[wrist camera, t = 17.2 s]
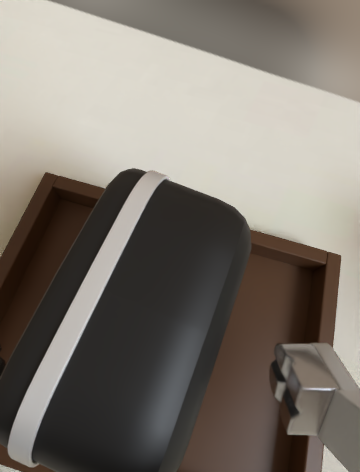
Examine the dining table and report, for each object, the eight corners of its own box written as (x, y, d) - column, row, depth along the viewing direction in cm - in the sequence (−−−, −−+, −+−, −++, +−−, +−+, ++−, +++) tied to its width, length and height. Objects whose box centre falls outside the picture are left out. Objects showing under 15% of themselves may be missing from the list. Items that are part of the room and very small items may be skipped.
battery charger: (164, 416, 15) (167, 601, 4) (94, 385, 15) (-74, 481, 4) (210, 286, 17) (291, 186, 6) (150, 261, 17) (130, 128, 7)
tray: (-59, 421, 15) (-93, 433, 13) (57, 189, 19) (45, 171, 17) (291, 537, 14) (313, 569, 12) (323, 264, 18) (342, 255, 17)
